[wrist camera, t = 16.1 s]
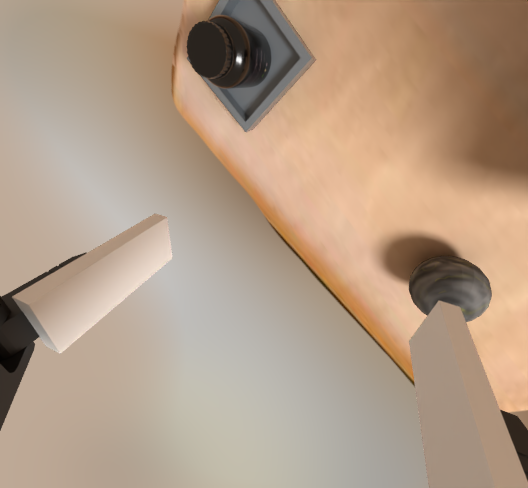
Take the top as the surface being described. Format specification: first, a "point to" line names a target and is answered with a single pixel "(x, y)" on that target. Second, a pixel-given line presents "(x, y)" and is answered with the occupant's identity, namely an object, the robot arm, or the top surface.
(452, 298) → the decorative stone
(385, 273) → the top surface
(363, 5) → the top surface
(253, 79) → the supplement bottle
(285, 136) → the top surface
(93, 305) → the robot arm
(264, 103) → the tray
